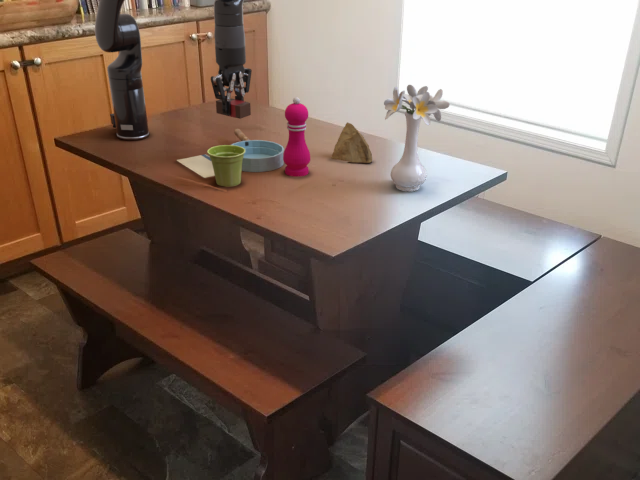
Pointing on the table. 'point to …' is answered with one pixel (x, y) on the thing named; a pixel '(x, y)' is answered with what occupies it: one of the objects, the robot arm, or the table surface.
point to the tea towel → (199, 165)
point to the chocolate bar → (235, 108)
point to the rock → (352, 146)
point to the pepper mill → (296, 140)
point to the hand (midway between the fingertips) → (233, 112)
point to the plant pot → (227, 164)
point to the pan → (261, 155)
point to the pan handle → (241, 136)
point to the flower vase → (413, 132)
